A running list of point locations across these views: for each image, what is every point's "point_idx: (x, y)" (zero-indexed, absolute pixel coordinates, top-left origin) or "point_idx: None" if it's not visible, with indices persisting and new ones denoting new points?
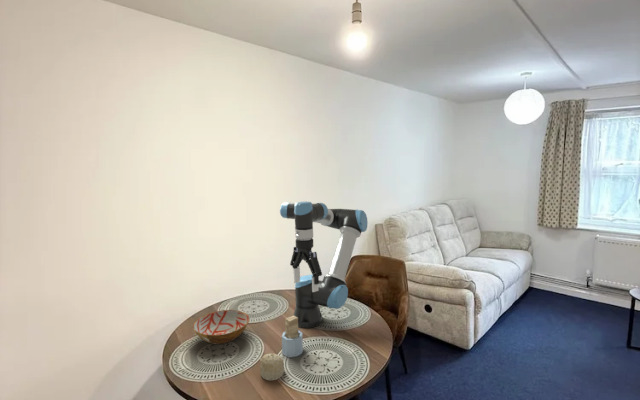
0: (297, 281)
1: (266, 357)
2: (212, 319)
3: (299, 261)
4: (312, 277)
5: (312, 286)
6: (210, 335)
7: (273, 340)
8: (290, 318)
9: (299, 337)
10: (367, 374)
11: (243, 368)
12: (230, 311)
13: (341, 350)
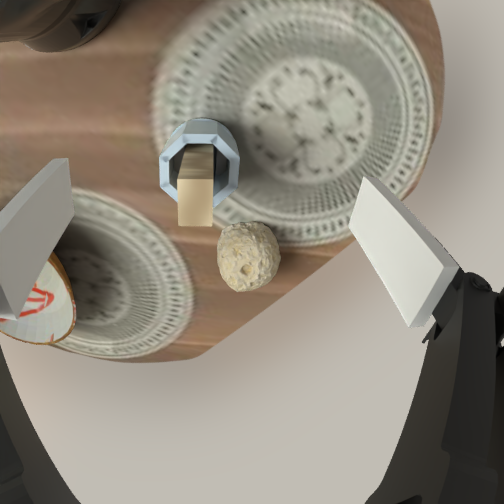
0: (68, 193)
1: (248, 288)
2: None
3: (12, 408)
4: (428, 337)
5: (371, 255)
6: (68, 334)
7: (103, 162)
8: (193, 208)
9: (236, 164)
10: (433, 96)
11: (181, 282)
12: None
13: (320, 38)
